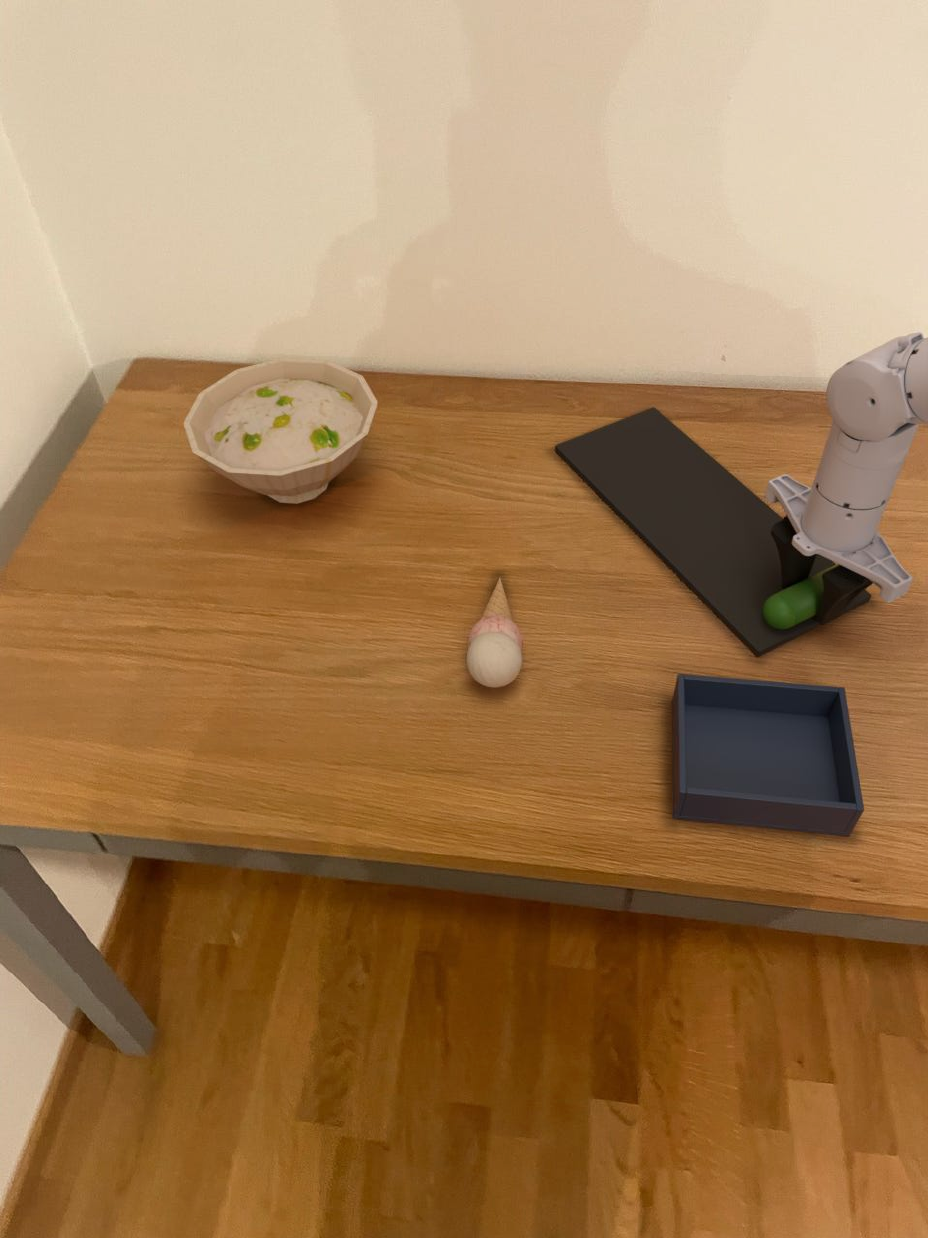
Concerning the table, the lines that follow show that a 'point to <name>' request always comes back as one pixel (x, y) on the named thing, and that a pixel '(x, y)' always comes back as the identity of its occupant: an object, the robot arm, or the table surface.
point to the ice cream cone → (495, 644)
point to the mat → (693, 520)
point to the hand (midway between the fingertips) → (810, 602)
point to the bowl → (282, 426)
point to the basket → (764, 755)
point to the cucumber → (795, 602)
